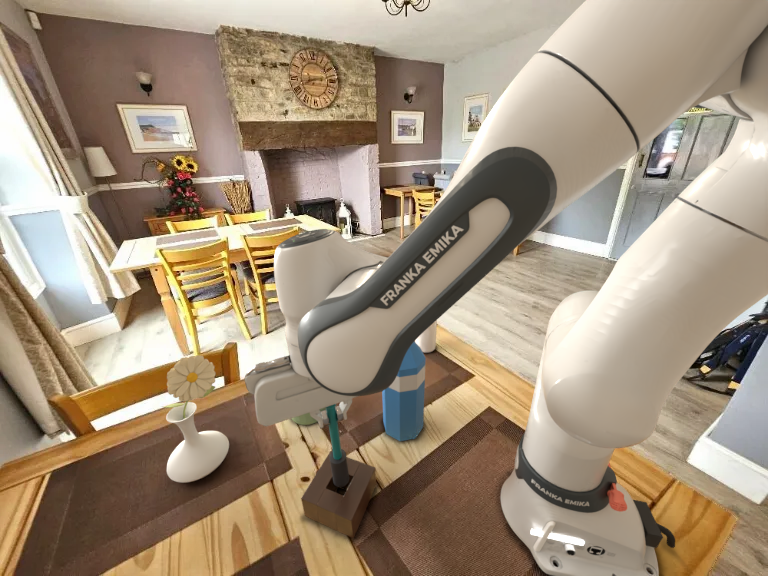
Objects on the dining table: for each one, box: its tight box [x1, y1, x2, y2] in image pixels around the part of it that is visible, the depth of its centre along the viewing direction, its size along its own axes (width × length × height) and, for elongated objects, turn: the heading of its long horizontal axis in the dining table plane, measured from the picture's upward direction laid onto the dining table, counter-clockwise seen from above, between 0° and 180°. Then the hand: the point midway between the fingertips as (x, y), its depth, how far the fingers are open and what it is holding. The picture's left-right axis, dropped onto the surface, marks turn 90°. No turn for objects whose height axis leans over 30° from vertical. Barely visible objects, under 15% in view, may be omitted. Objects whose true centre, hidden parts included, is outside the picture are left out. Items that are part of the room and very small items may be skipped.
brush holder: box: [300, 450, 377, 539], centre depth 56 cm, size 10×10×5 cm
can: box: [415, 319, 438, 354], centre depth 96 cm, size 6×6×12 cm
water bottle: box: [381, 341, 427, 442], centre depth 67 cm, size 9×9×25 cm
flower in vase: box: [160, 354, 230, 483], centre depth 60 cm, size 13×11×25 cm
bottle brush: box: [325, 404, 349, 488], centre depth 50 cm, size 3×3×19 cm
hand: (332, 420), depth 49 cm, fingers closed on bottle brush
